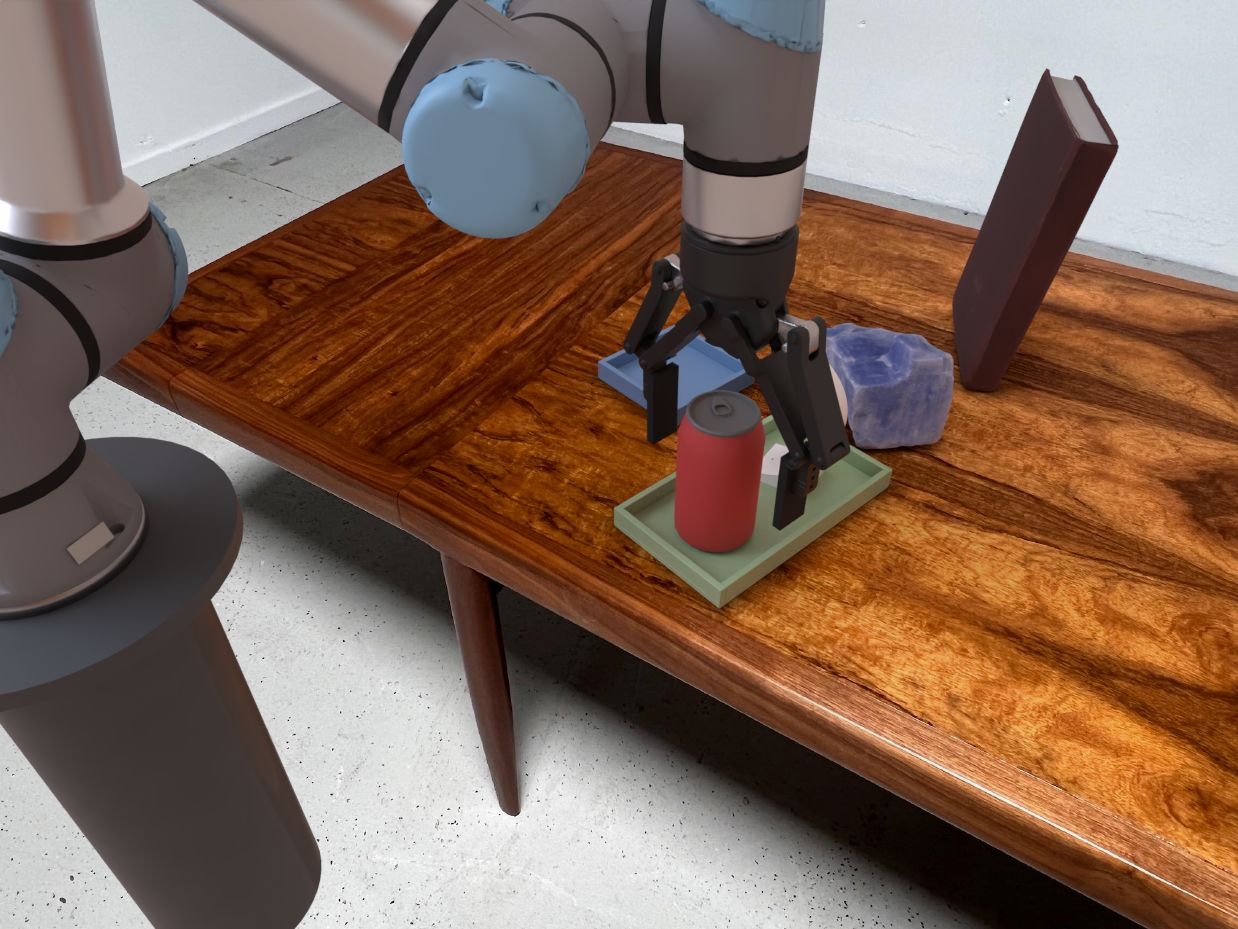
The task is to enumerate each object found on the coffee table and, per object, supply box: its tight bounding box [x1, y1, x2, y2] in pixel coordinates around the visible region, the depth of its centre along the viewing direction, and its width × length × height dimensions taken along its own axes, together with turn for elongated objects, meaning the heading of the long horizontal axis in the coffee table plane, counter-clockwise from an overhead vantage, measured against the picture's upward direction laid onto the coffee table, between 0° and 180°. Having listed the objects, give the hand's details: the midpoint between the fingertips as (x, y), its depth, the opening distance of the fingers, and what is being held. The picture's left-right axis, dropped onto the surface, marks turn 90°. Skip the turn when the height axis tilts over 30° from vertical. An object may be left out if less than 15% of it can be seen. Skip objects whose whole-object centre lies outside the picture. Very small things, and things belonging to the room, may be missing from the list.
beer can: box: [674, 390, 766, 552], centre depth 71 cm, size 7×7×12 cm
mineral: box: [826, 322, 955, 450], centre depth 86 cm, size 14×10×10 cm
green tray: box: [613, 414, 893, 610], centre depth 77 cm, size 21×12×2 cm, turn 131°
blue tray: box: [597, 324, 756, 427], centre depth 91 cm, size 11×11×2 cm
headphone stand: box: [760, 364, 848, 488], centre depth 76 cm, size 5×6×12 cm
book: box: [951, 68, 1120, 393], centre depth 87 cm, size 17×26×4 cm
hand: (721, 476), depth 71 cm, fingers open, 13 cm apart
